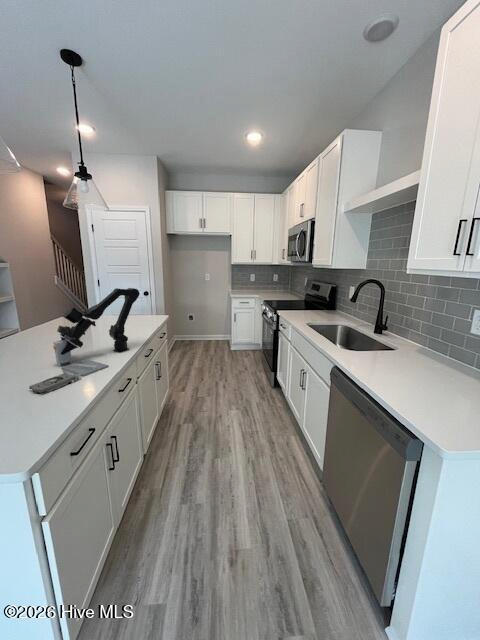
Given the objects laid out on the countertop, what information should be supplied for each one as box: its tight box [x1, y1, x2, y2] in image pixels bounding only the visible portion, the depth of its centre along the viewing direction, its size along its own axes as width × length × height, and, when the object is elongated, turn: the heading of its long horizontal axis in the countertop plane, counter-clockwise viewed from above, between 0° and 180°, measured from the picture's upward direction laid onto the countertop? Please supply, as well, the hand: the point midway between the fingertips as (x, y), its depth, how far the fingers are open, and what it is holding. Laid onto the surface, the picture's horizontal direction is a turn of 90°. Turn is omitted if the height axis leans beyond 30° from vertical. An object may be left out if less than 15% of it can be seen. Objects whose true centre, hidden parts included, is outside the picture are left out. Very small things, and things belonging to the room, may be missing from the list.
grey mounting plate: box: [60, 358, 109, 378], centre depth 131 cm, size 13×18×2 cm
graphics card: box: [28, 370, 82, 394], centre depth 113 cm, size 17×4×12 cm
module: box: [52, 339, 73, 368], centre depth 134 cm, size 6×5×12 cm
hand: (59, 352), depth 133 cm, fingers open, 6 cm apart
